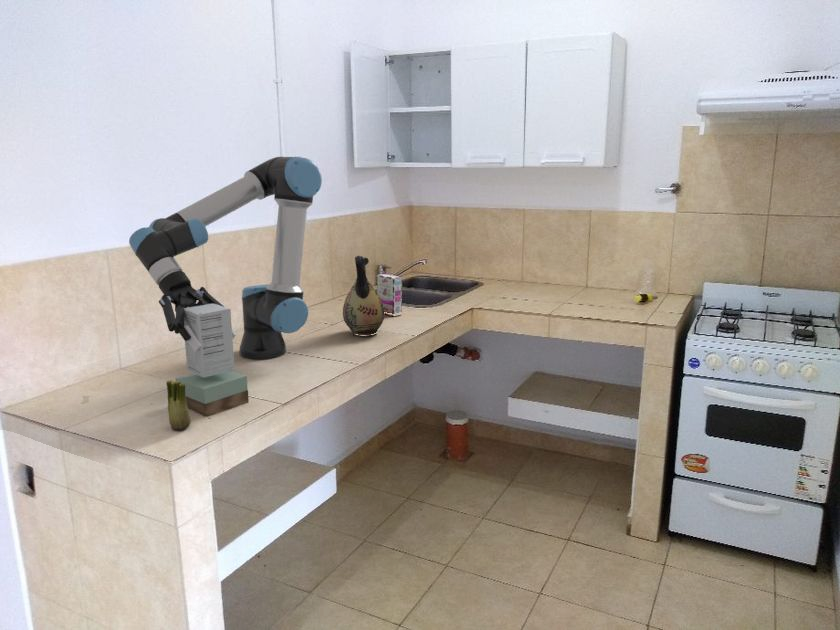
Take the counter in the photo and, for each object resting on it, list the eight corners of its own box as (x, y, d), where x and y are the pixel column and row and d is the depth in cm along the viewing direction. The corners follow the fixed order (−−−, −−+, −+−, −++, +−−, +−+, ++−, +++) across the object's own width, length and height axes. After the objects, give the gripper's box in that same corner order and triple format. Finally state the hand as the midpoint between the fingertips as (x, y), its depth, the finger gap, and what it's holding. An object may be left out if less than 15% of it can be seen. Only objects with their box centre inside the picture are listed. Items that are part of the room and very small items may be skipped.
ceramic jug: (346, 328, 250) (345, 251, 243) (386, 329, 250) (386, 251, 242) (339, 340, 234) (337, 258, 226) (382, 341, 233) (381, 258, 226)
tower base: (220, 393, 182) (219, 379, 181) (248, 404, 175) (248, 390, 174) (178, 406, 173) (177, 392, 172) (206, 418, 165) (205, 404, 164)
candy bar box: (402, 315, 271) (402, 276, 267) (393, 317, 268) (393, 278, 264) (385, 310, 279) (385, 273, 275) (376, 312, 276) (376, 274, 272)
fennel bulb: (167, 426, 159) (163, 379, 156) (187, 421, 162) (183, 376, 159) (173, 434, 154) (169, 386, 151) (194, 429, 157) (190, 382, 154)
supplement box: (235, 370, 171) (232, 308, 167) (202, 378, 165) (198, 314, 161) (218, 361, 178) (214, 302, 174) (186, 369, 172) (181, 307, 167)
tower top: (218, 379, 181) (217, 366, 180) (247, 390, 174) (246, 376, 173) (176, 392, 172) (175, 378, 171) (204, 404, 164) (203, 389, 163)
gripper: (198, 280, 184) (242, 340, 180) (126, 295, 164) (173, 363, 160) (211, 263, 180) (255, 324, 176) (138, 276, 160) (186, 346, 156)
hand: (216, 343), depth 168 cm, fingers open, 11 cm apart
